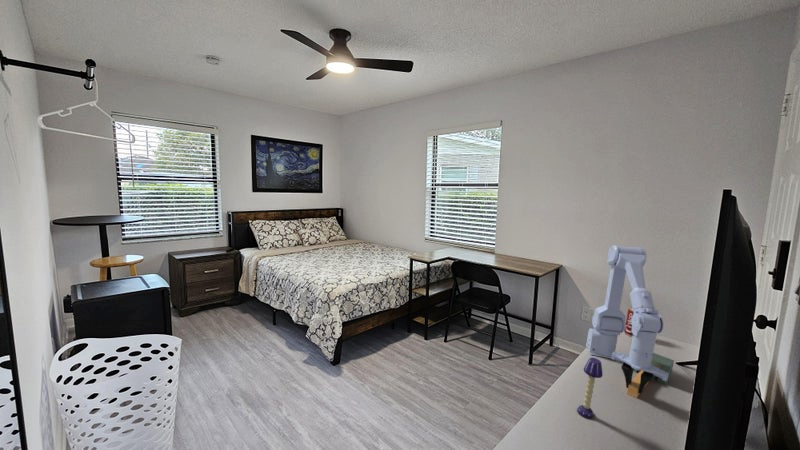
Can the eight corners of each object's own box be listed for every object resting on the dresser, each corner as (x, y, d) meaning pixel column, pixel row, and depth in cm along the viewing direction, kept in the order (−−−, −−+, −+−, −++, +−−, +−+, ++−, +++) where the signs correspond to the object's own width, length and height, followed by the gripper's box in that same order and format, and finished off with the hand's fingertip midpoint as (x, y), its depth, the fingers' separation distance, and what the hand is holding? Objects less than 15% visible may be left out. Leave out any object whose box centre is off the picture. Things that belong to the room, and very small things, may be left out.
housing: (666, 384, 112) (669, 366, 111) (628, 369, 120) (631, 352, 119) (670, 378, 116) (674, 360, 115) (634, 363, 124) (637, 346, 123)
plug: (639, 399, 104) (641, 388, 104) (624, 392, 107) (626, 382, 107) (655, 376, 117) (657, 367, 116) (642, 371, 119) (643, 361, 119)
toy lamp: (579, 405, 100) (587, 353, 97) (597, 412, 97) (605, 359, 95) (575, 413, 97) (583, 360, 94) (593, 421, 94) (602, 367, 91)
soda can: (641, 338, 144) (646, 311, 142) (629, 337, 144) (633, 310, 142) (633, 332, 149) (637, 306, 147) (621, 331, 150) (625, 305, 147)
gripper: (610, 343, 107) (604, 382, 109) (667, 365, 96) (658, 407, 99) (618, 337, 112) (612, 374, 114) (673, 357, 101) (664, 397, 103)
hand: (634, 389), depth 107 cm, fingers closed on plug, 3 cm apart
